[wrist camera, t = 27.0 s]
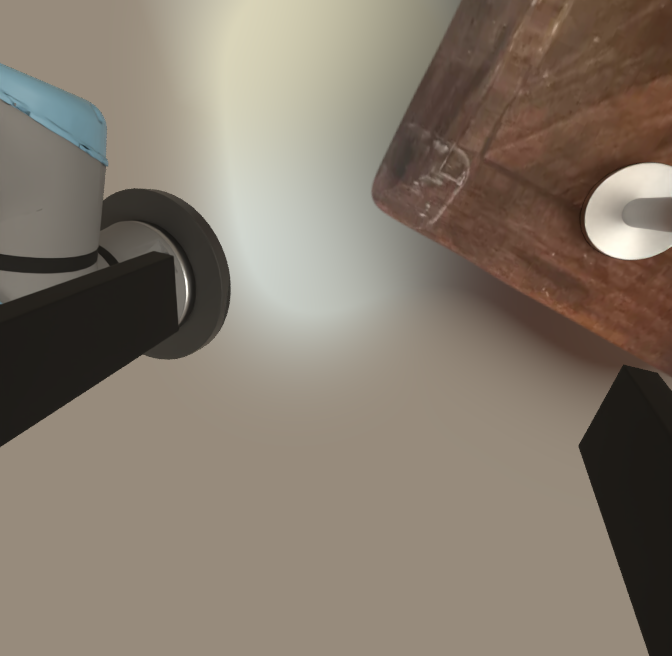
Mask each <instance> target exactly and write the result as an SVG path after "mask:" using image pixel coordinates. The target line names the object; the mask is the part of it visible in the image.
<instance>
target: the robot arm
mask: <svg viewBox="0 0 672 656" xmlns="http://www.w3.org/2000/svg"><path fill="white" fill-rule="evenodd" d="M106 135H107V126H106V122H105V119H104V117H103V115H102V113H101V112H100V111H99V109H98V108H97V107H96V106H95V105H93V104H92V103H91V102H89V101H87V100H85V99H83V98H80V97H78V96H76V95H74V94H71V93H69V92H67V91H64V90H62V89H60V88H57V87H55V86H53V85H50V84H48V83H46V82H43V81H41V80H39V79H36V78H34V77H32V76H29V75H27V74H25V73H22V72H20V71H17V70H15V69H13V68H10V67H8V66H6V65H3V64H1V63H0V447H1V446H2V445H4V444H6V443H7V442H9V441H10V440H12V439H13V438H15V437H16V436H18V435H19V434H21V433H22V432H24V431H25V430H27V429H29V428H30V427H32V426H33V425H35V424H36V423H38V422H39V421H41V420H43V419H44V418H46V417H47V416H49V415H50V414H52V413H53V412H55V411H56V410H58V409H59V408H61V407H62V406H64V405H65V404H67V403H69V402H70V401H72V400H73V399H75V398H76V397H78V396H79V395H81V394H82V393H84V392H86V391H87V390H89V389H90V388H92V387H93V386H95V385H96V384H98V383H99V382H101V381H102V380H104V379H106V378H107V377H109V376H110V375H111V374H113V373H115V372H116V371H118V370H119V369H121V368H122V367H124V366H126V365H127V364H129V363H130V362H132V361H133V360H135V359H136V358H138V357H139V356H141V355H142V354H144V353H146V352H147V351H149V350H150V349H152V348H153V347H155V346H156V345H158V344H159V343H161V342H162V341H164V340H166V339H167V338H169V337H170V336H172V335H173V334H175V333H176V332H178V331H179V327H180V326H182V325H183V324H184V323H185V322H186V320H187V319H188V317H189V316H190V314H191V312H192V309H193V306H194V302H195V296H196V284H195V277H194V272H193V269H192V266H191V263H190V261H189V258H188V256H187V254H186V253H185V251H184V249H183V248H182V246H181V245H180V244H179V242H178V241H177V240H176V239H175V238H174V237H173V236H172V235H171V234H170V233H169V232H167V231H166V230H165V229H163V228H162V227H160V226H158V225H156V224H154V223H151V222H147V221H121V222H117V223H115V224H112V225H111V226H109V227H107V228H105V229H103V230H101V231H100V227H101V216H102V204H103V193H104V182H105V171H106V166H108V161H107V159H106ZM579 449H580V452H581V455H582V458H583V461H584V464H585V467H586V470H587V473H588V476H589V479H590V482H591V485H592V487H593V491H594V493H595V497H596V500H597V502H598V505H599V508H600V511H601V514H602V517H603V520H604V523H605V526H606V529H607V532H608V535H609V538H610V541H611V544H612V547H613V550H614V552H615V556H616V559H617V562H618V565H619V567H620V570H621V573H622V576H623V579H624V582H625V585H626V588H627V591H628V594H629V597H630V600H631V603H632V606H633V609H634V612H635V615H636V618H637V621H638V624H639V626H640V630H641V632H642V635H643V638H644V641H645V644H646V647H647V650H648V653H649V656H672V391H671V390H670V388H669V387H668V386H667V385H666V383H665V382H664V381H663V379H662V378H661V377H660V376H659V374H658V373H656V372H651V371H648V370H643V369H639V368H635V367H631V366H627V365H623V366H622V368H621V370H620V372H619V373H618V375H617V377H616V379H615V381H614V382H613V384H612V386H611V388H610V390H609V392H608V393H607V395H606V397H605V399H604V401H603V402H602V404H601V406H600V408H599V410H598V411H597V413H596V415H595V417H594V419H593V421H592V423H591V424H590V426H589V428H588V429H587V432H586V433H585V435H584V437H583V439H582V440H581V442H580V444H579Z"/></svg>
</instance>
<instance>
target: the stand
mask: <svg viewBox="0 0 672 656" xmlns="http://www.w3.org/2000/svg"><path fill="white" fill-rule="evenodd" d="M580 223H581V229H582V232H583V235H584V237H585V239H586V240H587V242H588V243H589V244H590V245H591V246H592V247H593V248H594V249H596V250H597V251H599V252H600V253H602V254H604V255H607V256H610V257H613V258H616V259H621V260H639V259H645V258H649V257H652V256H655V255H657V254H659V253H661V252H663V251H665V250H667V249H668V248H670V247H671V246H672V166H670V165H667V164H663V163H657V162H646V163H638V164H634V165H630V166H626V167H623V168H620V169H618V170H616V171H614V172H612V173H610V174H608V175H607V176H605V177H604V178H603V179H601V180H600V181H599V182H598V183H597V184H596V185H595V186H594V187H593V188H592V190H591V191H590V192H589V194H588V195H587V197H586V199H585V201H584V204H583V206H582V210H581V217H580Z"/></svg>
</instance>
